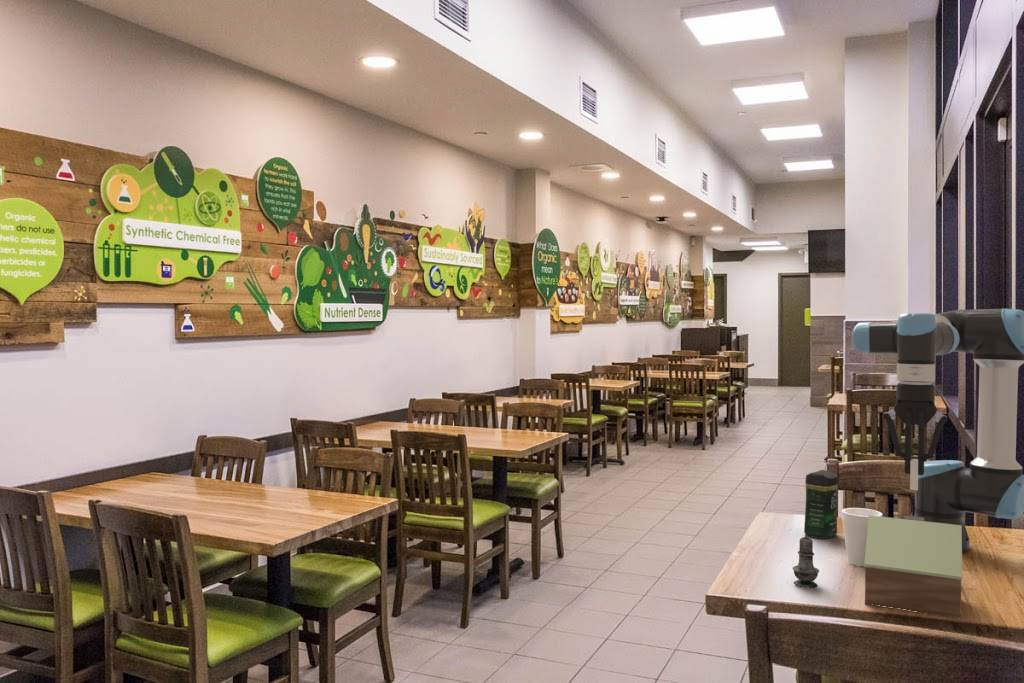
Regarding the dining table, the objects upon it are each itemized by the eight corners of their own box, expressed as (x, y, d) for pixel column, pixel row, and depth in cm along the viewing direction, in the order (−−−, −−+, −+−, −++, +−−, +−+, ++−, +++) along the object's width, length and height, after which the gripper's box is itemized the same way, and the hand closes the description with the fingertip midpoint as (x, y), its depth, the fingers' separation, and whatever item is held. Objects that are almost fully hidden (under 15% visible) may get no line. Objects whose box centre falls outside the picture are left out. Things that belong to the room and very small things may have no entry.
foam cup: (885, 570, 193) (886, 517, 193) (846, 567, 195) (846, 515, 194) (876, 558, 202) (876, 508, 202) (838, 556, 204) (838, 507, 204)
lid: (962, 581, 161) (962, 576, 160) (864, 568, 170) (864, 563, 169) (961, 526, 172) (961, 521, 171) (869, 516, 181) (869, 511, 180)
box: (960, 619, 161) (961, 580, 161) (864, 604, 169) (865, 567, 169) (959, 598, 173) (959, 562, 173) (869, 585, 182) (870, 551, 181)
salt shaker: (816, 590, 178) (816, 538, 178) (789, 585, 181) (790, 534, 181) (821, 583, 183) (821, 532, 183) (795, 578, 186) (795, 528, 186)
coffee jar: (828, 541, 218) (829, 475, 218) (800, 535, 224) (801, 471, 223) (841, 534, 225) (842, 470, 225) (814, 529, 231) (814, 466, 230)
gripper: (881, 382, 173) (880, 489, 173) (949, 385, 166) (947, 495, 167) (884, 380, 179) (882, 483, 180) (949, 383, 173) (947, 489, 173)
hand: (914, 489), depth 173 cm, fingers closed
